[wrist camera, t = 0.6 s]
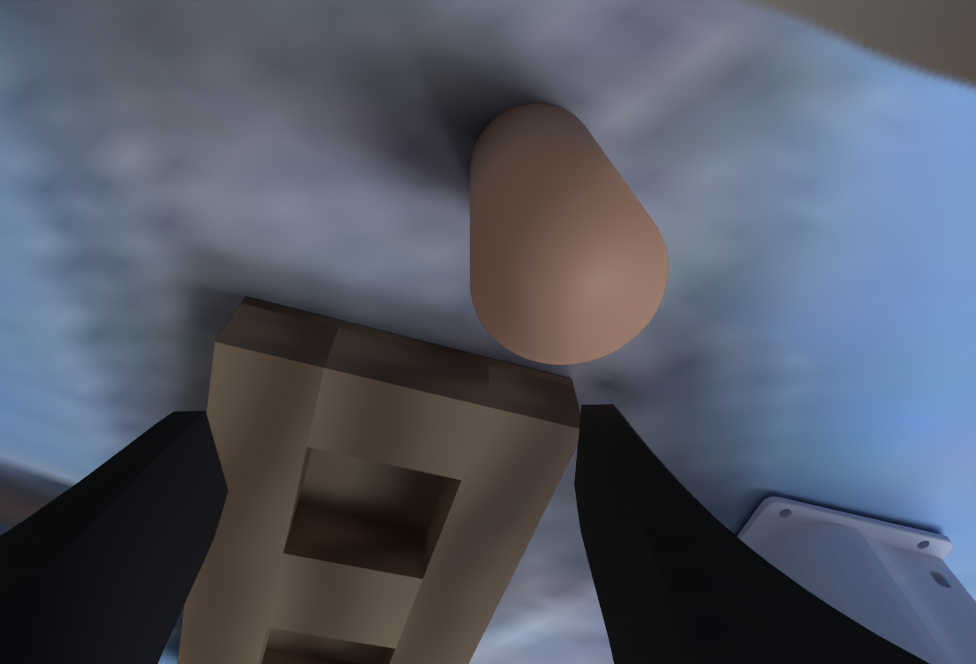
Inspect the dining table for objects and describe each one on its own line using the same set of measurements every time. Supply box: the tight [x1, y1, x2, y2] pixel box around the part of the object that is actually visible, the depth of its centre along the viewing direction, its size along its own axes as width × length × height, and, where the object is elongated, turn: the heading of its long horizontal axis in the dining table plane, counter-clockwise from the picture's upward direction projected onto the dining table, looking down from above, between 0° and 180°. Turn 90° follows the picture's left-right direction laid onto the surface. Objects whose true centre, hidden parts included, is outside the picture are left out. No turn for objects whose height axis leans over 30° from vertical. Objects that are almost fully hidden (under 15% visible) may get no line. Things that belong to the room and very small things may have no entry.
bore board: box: [177, 296, 581, 664], centre depth 26 cm, size 12×22×3 cm, turn 162°
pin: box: [470, 103, 668, 365], centre depth 16 cm, size 4×4×8 cm
